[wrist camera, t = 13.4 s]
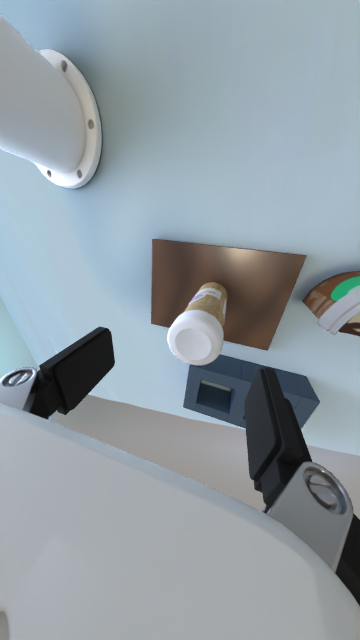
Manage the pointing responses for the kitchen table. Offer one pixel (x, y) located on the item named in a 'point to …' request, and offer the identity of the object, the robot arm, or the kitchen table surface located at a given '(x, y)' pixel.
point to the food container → (337, 303)
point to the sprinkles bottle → (200, 327)
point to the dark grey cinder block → (241, 390)
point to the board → (225, 286)
